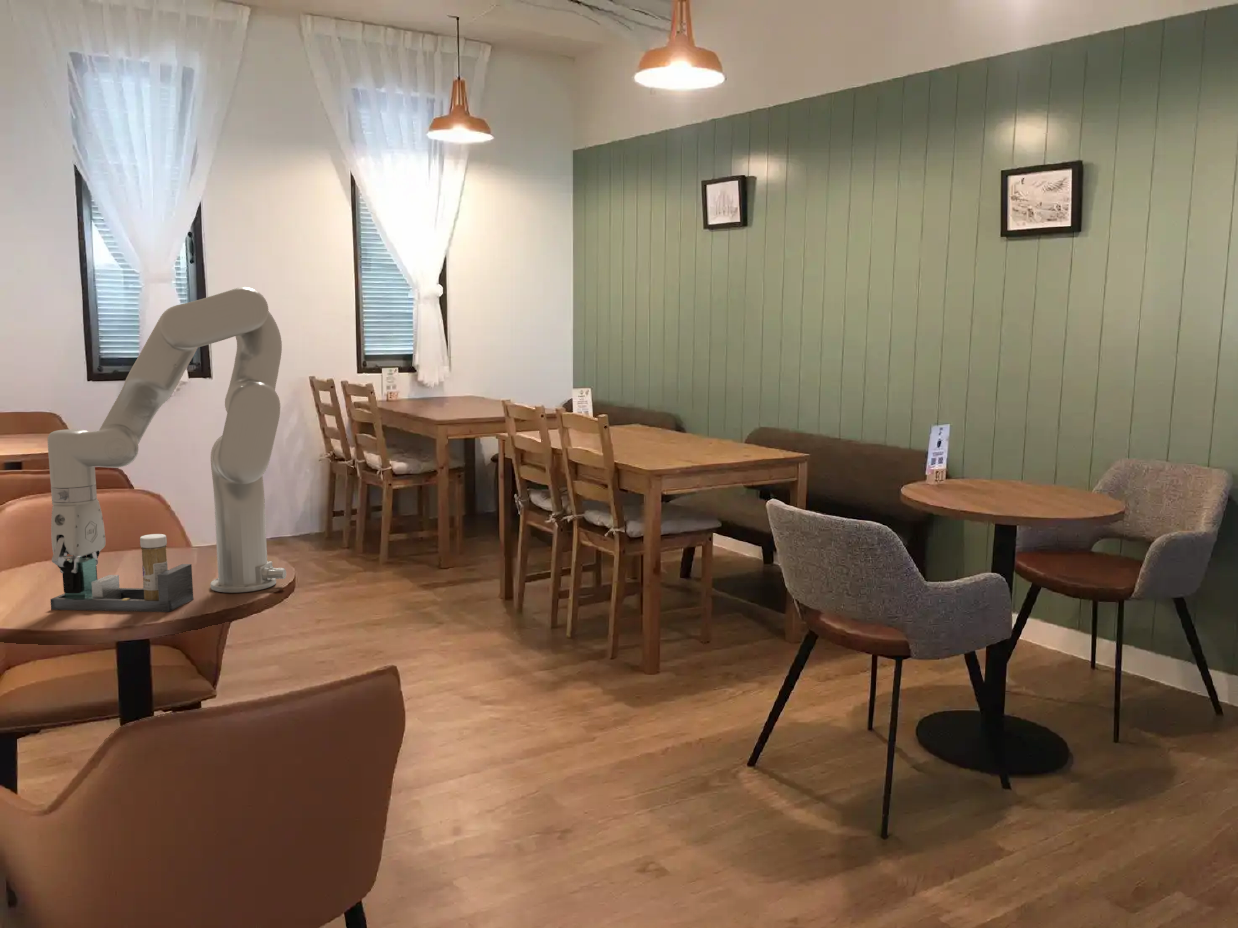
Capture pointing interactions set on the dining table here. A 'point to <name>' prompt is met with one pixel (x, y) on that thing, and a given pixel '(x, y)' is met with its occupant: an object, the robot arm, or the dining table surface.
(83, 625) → the dining table surface
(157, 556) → the sprinkles bottle
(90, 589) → the press carriage
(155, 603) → the frame
